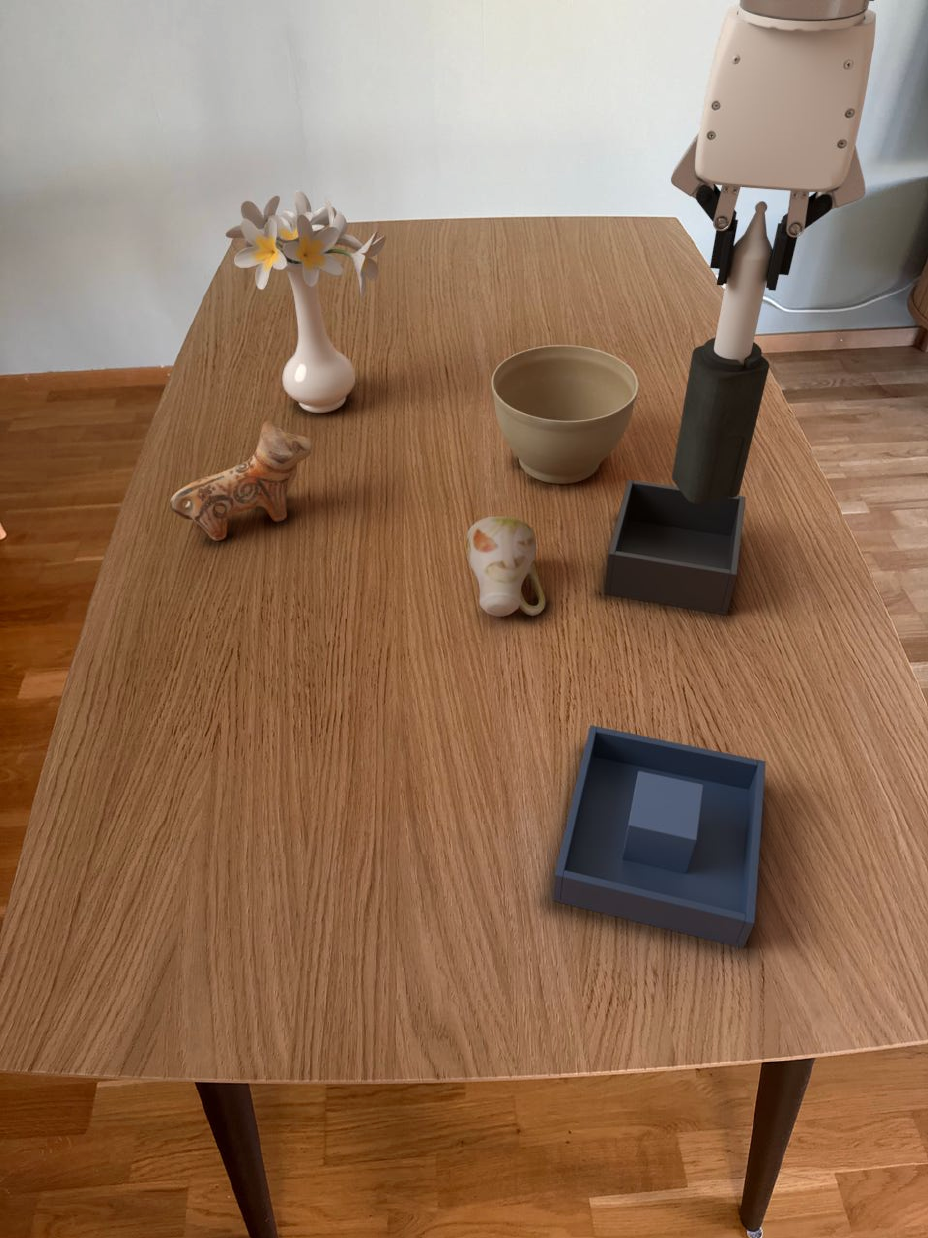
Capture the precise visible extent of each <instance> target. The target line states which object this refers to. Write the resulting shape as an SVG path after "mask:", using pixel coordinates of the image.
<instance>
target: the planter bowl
mask: <svg viewBox="0 0 928 1238" xmlns="http://www.w3.org/2000/svg"><path fill="white" fill-rule="evenodd" d="M490 383H491V392H492V396H493V403H494V413H495V416H496V421H497V425H498V427H499V429H500V432H501V434H502V437H503V439H504V440H505V443H506V444H507V446H508V447H509V449H510V450H511V451H512V453H513V454H514V455H515V457H516V458H517V459H518V461H519V462H518V463H519V465H520V467H521V468H522V470H523V471H524V472H525V473H526V474H528V475H529V476H530V477H532V478H534V479H535V480H538V481H541V482H544V483H549V484H557V485H558V484H561V485H563V484H573V483H578V482H582V481H583V480H586V479H588V478H590V477H591V476H592V475H594V474H595V472H596V471H597V470H598V469H599V467H600V464H601V463H602V462H603V461H604V460H605V459H606V458H607V457H608V456H609V455H610V454H611V453H612V452H613V450H614V449H615V448H616V447H617V446H618V444H619V442H620V441H621V439H622V438H623V436H624V435H625V433H626V431H627V428H628V426H629V423H630V420H631V417H632V415H633V410H634V405H635V403H636V400H637V398H638V393H639V387H640V386H639V385H640V384H639V380H638V376H637V374H636V372H635V371H634V370H633V368H632V367H631V366H630V365H629V364H628V363H627V362H625V361H623V360H622V359H620V358H619V357H617V356H615V355H614V354H610V353H608V352H606V351H603V350H599V349H596V348H592V347H588V346H587V347H586V346H581V345H571V344H551V345H550V344H549V345H542V346H537V347H533V348H529V349H526V350H522V351H520V352H517V353H514V354H513V355H510V356H509V357H507V358H506V359H504V360H503V361H502V362H500V363H499V365H497V367H496V368H495V369H494V372H493V373H492V375H491V382H490Z"/></svg>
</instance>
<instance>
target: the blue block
mask: <svg viewBox="0 0 928 1238" xmlns="http://www.w3.org/2000/svg"><path fill="white" fill-rule="evenodd" d="M702 793H703V785H702V784H697V783H692V782H688V781H683V780H678V779H674V778H669V777H664V776H660V775H655V774H650V773H646V772H641V771H638V775H637V780H636V785H635V791H634V796H633V801H632V806H631V812H630V817H629V823H628V828H627V833H626V839H625V844H624V850H623V855H622V859H626V860H630V861H634V862H638V863H643V864H647V865H651V866H655V867H660V868H664V869H668V870H672V871H677V872H681V873H685V874H686V873H687V871H688V868H689V864H690V861H691V858H692V854H693V851H694V848H695V844H696V841H697V834H698V826H699V818H700V810H701V801H702Z"/></svg>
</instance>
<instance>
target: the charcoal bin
mask: <svg viewBox="0 0 928 1238" xmlns="http://www.w3.org/2000/svg"><path fill="white" fill-rule="evenodd" d="M746 499H747V497H746V496H743V495H738V496H736V497H734V498H730V497H727V498H723V499H718V500H714V501H709V502H706V504H694V503H692V502H690V501H688V500H687V499H686V497H685V496H684V495H683V493H682V492H681V491H680V489H679V488H678V487H677V485H675V486H674V485H670V484H669V485H668V484H663V483H662V484H661V483H654V482H649V481H640V480H633V479H627V481H626V484H625V489H624V492H623V496H622V499H621V500H622V501H621V503H620V507H619V512H618V516H617V519H616V523H615V527H614V530H613V535H612V538H611V542H610V546H609V550H608V554H607V561H606V562H607V563H606V570H605V579H604V588H603V595H607V596H613V597H618V598H624V599H629V600H636V601H641V602H647V603H653V604H659V605H664V606H670V607H675V608H681V609H685V610H686V609H687V610H693V611H699V612H705V613H710V614H715V615H722V616H727V615H728V611H729V607H730V603H731V600H732V596H733V592H734V587H735V585H736V580H737V576H738V569H739V560H740V551H741V545H742V544H741V543H742V535H743V534H742V532H743V526H744V517H745V508H746V501H747V500H746Z"/></svg>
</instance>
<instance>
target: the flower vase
mask: <svg viewBox="0 0 928 1238" xmlns="http://www.w3.org/2000/svg"><path fill="white" fill-rule="evenodd" d="M324 198H325V203H326V206H322V207H319V208H318V209H316V210H315V211H313V212H312V206H311V202H310V200H309V198H308V197H307V195H306V194H305V192H303V191H302V190H300V189H299V190H296V191H295V192H294V197H293V200H294V201H293V202H294V206H295V211H296V213H295V212H293V211H291V210H283V211H281V212H280V215H278V214H276V213H277V210H278V208H279V204H280V200H281V197H280V196H279V195H278V194H277V195H274V196H273V197H271V198H270V199H269V200H268V201H267V202H266V204H265V205H264V207H263V210H262V212H261V210H260V208H259V207H258V206H257V205H256V204H255V203H254V202H253V201H251V200H245V201H243V202H242V203H241V204H240V214H241V217H242V220H240V224H238V225H234V226H232V227H230V228H229V229H228V230H227V231H226V232H225V237H226V238H228V239H245V241H244V246H245V248H243V249H241V250H239V251H238V252H237V253H236V254H235V256H234V259H233V262H234V265H235V266H236V267H237V268H240V269H249V268H252V267H253V268H254V267H256V266H257V267H256V269H255V274H254V276H255V277H254V279H255V284H256V286H257V288H258V289H259V290H261V291H262V290H264V289H265V288H267V285H268V282H269V279H270V274H271V272H272V269H275V270H278V271H281V270H285V272H286V274H287V277H288V280H289V283H290V286H291V287H290V288H291V291H292V294H293V300H294V307H295V315H296V323H297V344H296V348H295V350H294V353H293V355H292V356H291V357H290V358H289V359H288V361H287V362H286V364H285V366H284V368H283V372H282V377H281V378H282V379H281V382H282V386H283V389H284V391H285V392H286V394H288V396H289V397H290V398H291V399H292V400H294V401H296V402H298V405H299V406H300V407H301V409H303V410H304V411H307V412H309V413H314V414H324V413H330V412H333V411H336V410H337V409H339V408H341V407H342V406H343V405H344V404H345V402H346V400H347V396H348V395H349V394H350V393H351V391H352V390H353V388H354V386H355V385H356V378H357V375H356V370H355V368H354V366H353V364H352V362H351V361H350V359H349V358H348V357H346V355H345V354H344V353H343V352H341V351H340V350H338V349H336V348H335V346H334V344H332V342H331V340H330V338H329V336H328V334H327V330H326V327H325V323H324V318H323V317H324V316H323V312H322V307H321V301H320V295H319V283H318V282H319V278H320V270H322V271H323V272H325V273H327V274H330V275H332V276H342V275H343V274H344V271H345V270H344V266H343V264H342V263H341V262H340V261H339V259H337V258H336V256H334V255H331V254H339V255H344V256H346V257H348V258H351V259H352V261H353V264H354V267H355V271H356V275H357V279H358V285H359V291H360V296H361V299H364V297H365V293H366V290H367V278H368V279H369V280H370V281H371V282H372V281H373V282H375V281H376V280H377V279H378V276H379V265H378V263H377V262H376V261H375V260H374V259H373V258H374V257H376V256H377V255H378V254H379V253H380V252H381V251H382V249H383V247H384V246H385V243H386V242H387V241H386V240H387V236H386V235H383V236H381V237H379V238H378V235H379V234H378V233H379V231H378V230H376V231H375V232H374V233H373V234H372V236H371V237H370V238H369V240H368V241H366V243H364V244H362V243H361V241H359V240H358V239H357V238H356V237H355V236H353V235H351V234H347V232H348V228H349V225H348V222H347V219H346V217H345V216H344V214H343V213H342V211H341V210H336V208H335V207H333V206H332V204H331V203H330V200H329V199H328V197H327V196H325V197H324ZM328 225H329V227H327V226H328ZM377 238H378V239H377ZM278 241H279V242H278ZM280 242H281V243H283V244H284V245H282V244H281V243H280ZM339 245H340V246H344V247H346V248H349V249H351V250H354V251H355V252H354V253H353V252H350V251H348V250H344V249H338V248H333V247H336V246H339ZM278 247H279V248H280V249H282V250H280V249H279V248H278Z"/></svg>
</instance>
